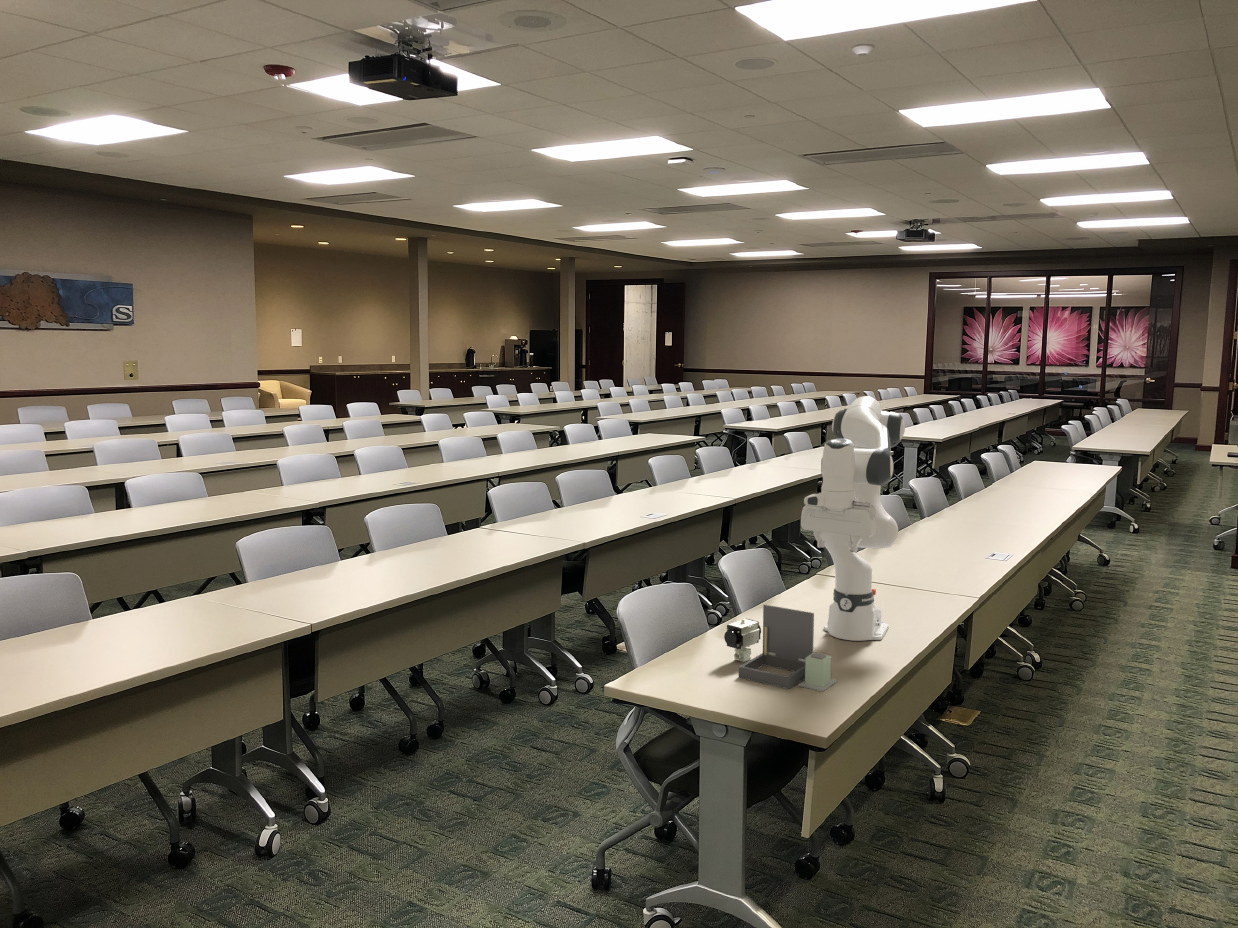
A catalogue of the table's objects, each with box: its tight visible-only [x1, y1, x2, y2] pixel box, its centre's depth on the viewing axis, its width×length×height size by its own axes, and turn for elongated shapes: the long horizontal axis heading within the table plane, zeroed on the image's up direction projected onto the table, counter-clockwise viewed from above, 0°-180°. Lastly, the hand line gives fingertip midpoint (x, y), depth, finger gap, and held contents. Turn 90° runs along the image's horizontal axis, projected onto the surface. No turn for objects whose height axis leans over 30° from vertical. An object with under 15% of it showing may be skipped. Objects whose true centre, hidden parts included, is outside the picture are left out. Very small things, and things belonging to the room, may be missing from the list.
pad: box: [797, 678, 838, 693], centre depth 239 cm, size 9×7×1 cm
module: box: [804, 652, 832, 687], centre depth 239 cm, size 5×5×8 cm
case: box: [738, 604, 815, 690], centre depth 245 cm, size 15×15×17 cm
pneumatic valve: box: [723, 618, 762, 663], centre depth 257 cm, size 6×12×12 cm, turn 135°
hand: (837, 549), depth 244 cm, fingers open, 8 cm apart
